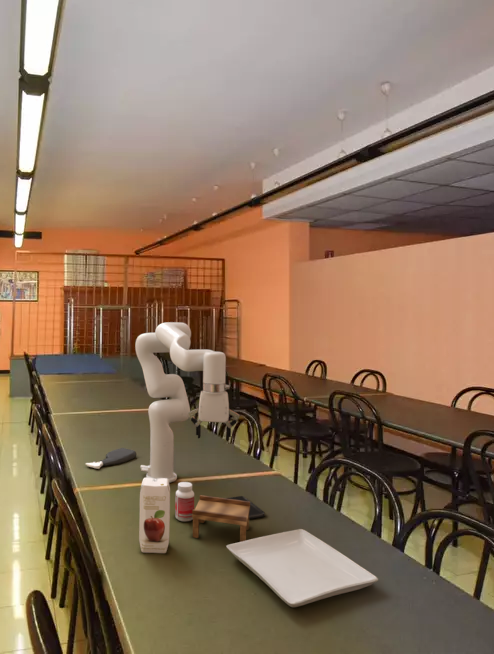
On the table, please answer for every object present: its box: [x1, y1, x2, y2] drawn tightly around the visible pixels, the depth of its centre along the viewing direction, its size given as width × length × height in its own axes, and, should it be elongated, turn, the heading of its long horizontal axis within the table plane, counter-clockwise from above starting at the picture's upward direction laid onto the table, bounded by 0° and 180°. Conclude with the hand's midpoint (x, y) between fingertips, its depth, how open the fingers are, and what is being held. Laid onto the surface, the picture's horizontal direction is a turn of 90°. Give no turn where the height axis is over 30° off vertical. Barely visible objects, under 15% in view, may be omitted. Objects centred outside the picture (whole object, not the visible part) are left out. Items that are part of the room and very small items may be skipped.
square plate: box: [225, 528, 379, 608], centre depth 116 cm, size 27×27×4 cm
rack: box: [192, 494, 251, 542], centre depth 138 cm, size 16×12×8 cm
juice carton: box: [138, 476, 171, 554], centre depth 128 cm, size 8×9×19 cm
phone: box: [225, 495, 266, 520], centre depth 155 cm, size 8×1×15 cm
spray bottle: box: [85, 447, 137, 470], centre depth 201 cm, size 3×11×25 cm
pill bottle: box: [174, 481, 195, 523], centre depth 147 cm, size 6×6×11 cm
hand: (213, 438), depth 153 cm, fingers open, 9 cm apart
